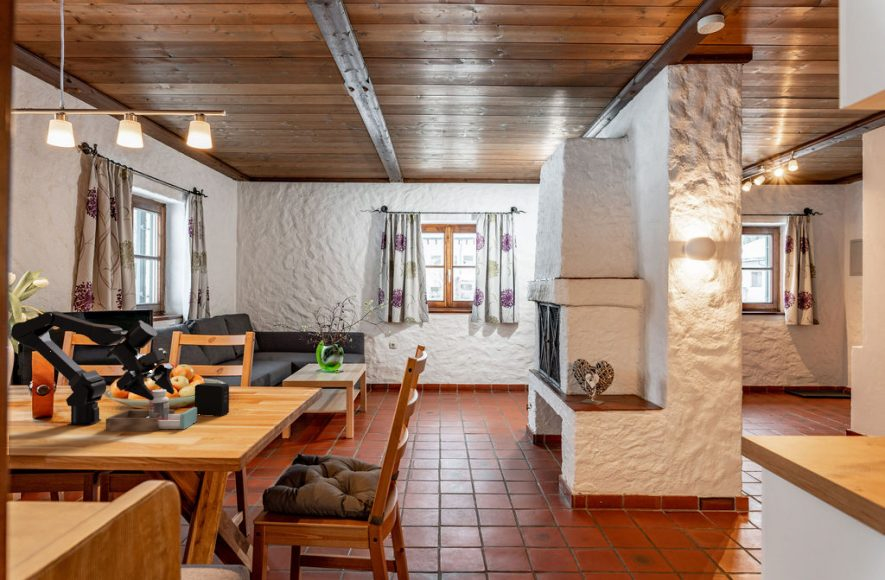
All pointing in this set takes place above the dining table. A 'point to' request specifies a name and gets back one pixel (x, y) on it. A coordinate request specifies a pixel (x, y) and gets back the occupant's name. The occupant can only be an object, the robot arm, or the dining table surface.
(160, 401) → the pill bottle
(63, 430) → the dining table surface
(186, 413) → the tray
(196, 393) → the electronic device
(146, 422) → the dock
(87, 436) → the dining table surface
